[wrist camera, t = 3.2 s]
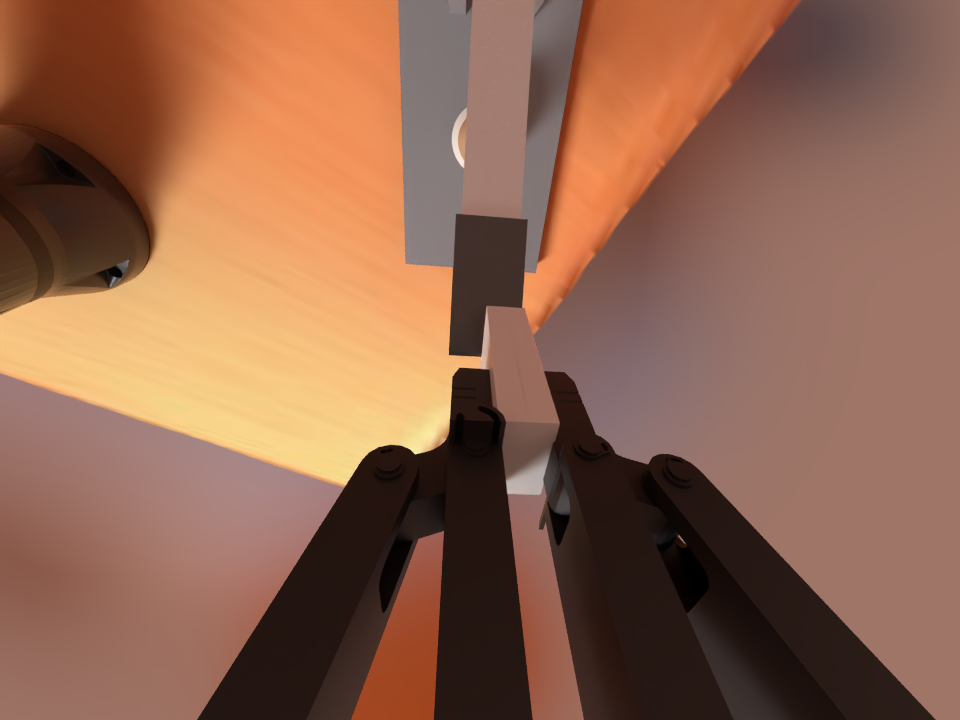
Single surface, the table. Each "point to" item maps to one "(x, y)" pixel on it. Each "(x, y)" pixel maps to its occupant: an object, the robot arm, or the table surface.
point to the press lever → (492, 171)
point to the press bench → (449, 97)
